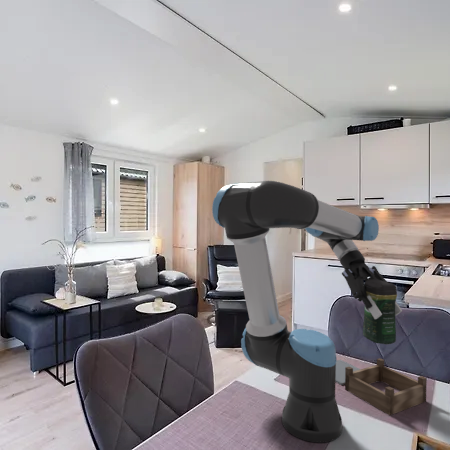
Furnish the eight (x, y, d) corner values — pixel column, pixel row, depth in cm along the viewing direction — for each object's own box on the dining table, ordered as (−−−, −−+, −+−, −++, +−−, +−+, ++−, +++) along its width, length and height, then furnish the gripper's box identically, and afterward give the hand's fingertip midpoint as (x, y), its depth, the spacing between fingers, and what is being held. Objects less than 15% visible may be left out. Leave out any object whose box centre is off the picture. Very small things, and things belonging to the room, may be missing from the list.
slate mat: (341, 385, 111) (341, 383, 111) (311, 368, 124) (311, 366, 124) (371, 376, 118) (371, 374, 118) (340, 361, 130) (340, 359, 130)
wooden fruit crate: (389, 415, 94) (390, 390, 94) (345, 389, 109) (345, 367, 108) (426, 401, 102) (426, 378, 101) (379, 378, 116) (380, 358, 116)
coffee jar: (400, 344, 103) (402, 283, 103) (377, 346, 102) (378, 284, 101) (380, 333, 113) (381, 277, 112) (358, 334, 111) (359, 277, 111)
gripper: (364, 260, 125) (403, 316, 111) (319, 264, 116) (356, 325, 102) (377, 247, 120) (419, 304, 106) (331, 250, 111) (371, 312, 97)
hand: (388, 314), depth 104 cm, fingers closed on coffee jar, 8 cm apart
